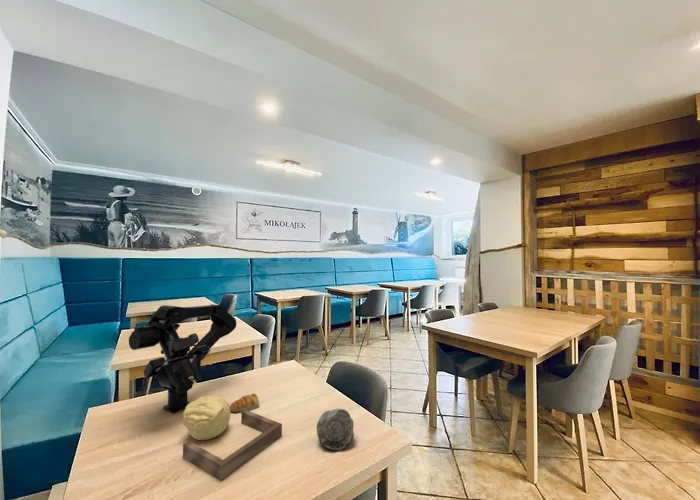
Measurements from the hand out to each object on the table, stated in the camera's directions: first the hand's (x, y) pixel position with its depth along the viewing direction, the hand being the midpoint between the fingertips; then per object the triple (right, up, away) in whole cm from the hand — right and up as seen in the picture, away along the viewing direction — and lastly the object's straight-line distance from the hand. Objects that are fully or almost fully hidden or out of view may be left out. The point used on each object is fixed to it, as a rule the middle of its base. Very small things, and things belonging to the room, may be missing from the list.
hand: (189, 383), depth 93 cm
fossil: (+46, -13, -8) cm, 48 cm away
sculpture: (+8, -13, -5) cm, 16 cm away
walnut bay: (+18, -12, -11) cm, 24 cm away
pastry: (+14, -13, +10) cm, 22 cm away
